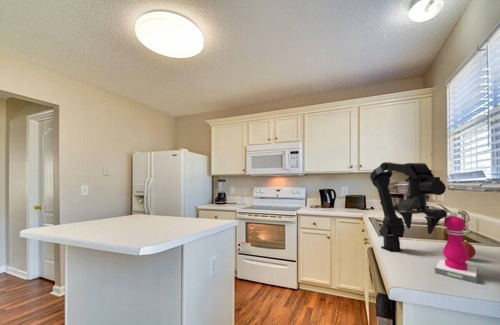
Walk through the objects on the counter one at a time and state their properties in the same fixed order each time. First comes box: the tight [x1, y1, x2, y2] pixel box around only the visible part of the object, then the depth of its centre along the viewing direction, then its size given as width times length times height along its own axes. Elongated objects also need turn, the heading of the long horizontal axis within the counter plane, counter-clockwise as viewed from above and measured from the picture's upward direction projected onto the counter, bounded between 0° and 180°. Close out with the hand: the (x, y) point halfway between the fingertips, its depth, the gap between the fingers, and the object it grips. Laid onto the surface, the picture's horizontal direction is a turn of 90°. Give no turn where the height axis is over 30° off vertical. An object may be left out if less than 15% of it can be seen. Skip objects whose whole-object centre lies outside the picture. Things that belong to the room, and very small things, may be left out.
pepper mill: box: [442, 211, 470, 270], centre depth 86 cm, size 7×7×20 cm
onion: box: [462, 239, 477, 259], centre depth 100 cm, size 6×6×8 cm
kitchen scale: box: [434, 259, 479, 284], centre depth 85 cm, size 11×11×2 cm
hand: (418, 231), depth 95 cm, fingers open, 9 cm apart
